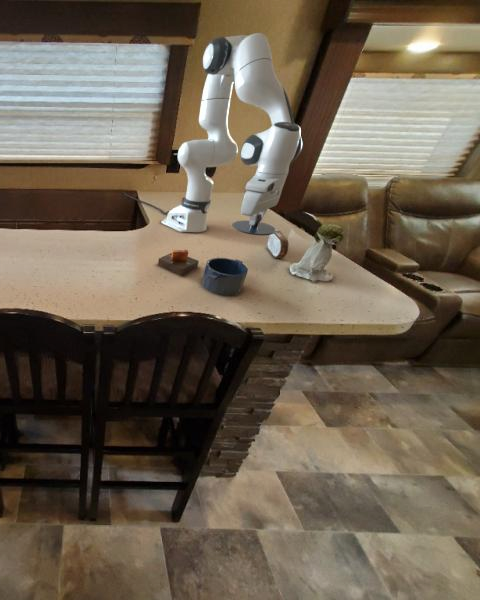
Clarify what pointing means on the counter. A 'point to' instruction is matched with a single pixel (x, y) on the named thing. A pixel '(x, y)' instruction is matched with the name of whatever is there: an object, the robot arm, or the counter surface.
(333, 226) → the mossy white figurine
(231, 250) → the counter surface
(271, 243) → the tin
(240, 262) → the pot
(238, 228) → the pot lid
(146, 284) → the counter surface
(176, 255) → the block
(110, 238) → the counter surface
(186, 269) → the handle block
